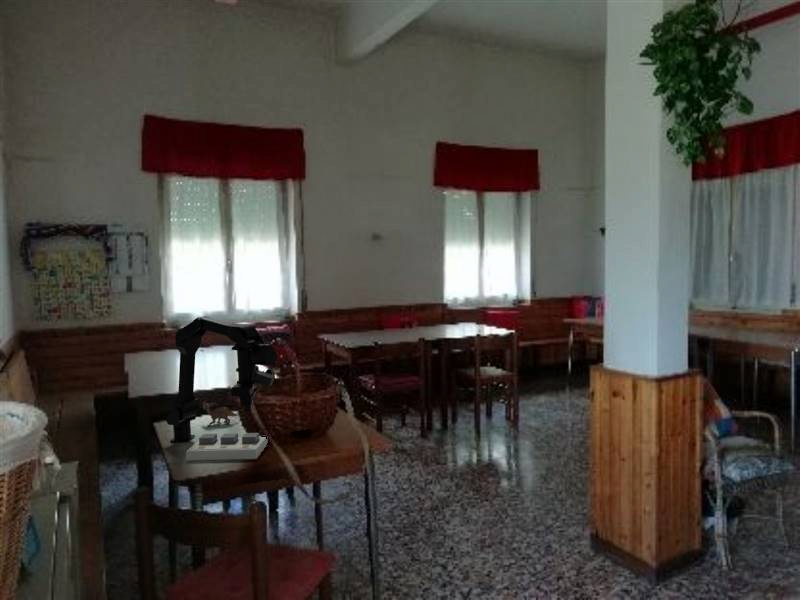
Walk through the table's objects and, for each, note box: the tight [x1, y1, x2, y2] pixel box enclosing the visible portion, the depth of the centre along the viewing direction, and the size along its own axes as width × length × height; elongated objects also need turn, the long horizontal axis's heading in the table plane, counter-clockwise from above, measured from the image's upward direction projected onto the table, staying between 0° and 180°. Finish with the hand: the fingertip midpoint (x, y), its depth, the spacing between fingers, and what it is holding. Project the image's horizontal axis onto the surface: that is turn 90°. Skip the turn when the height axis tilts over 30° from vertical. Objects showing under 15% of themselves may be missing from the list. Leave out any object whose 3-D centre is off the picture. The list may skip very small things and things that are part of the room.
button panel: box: [186, 435, 268, 461], centre depth 197 cm, size 14×22×3 cm, turn 88°
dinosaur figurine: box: [202, 399, 238, 427], centre depth 231 cm, size 14×6×9 cm, turn 94°
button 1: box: [198, 433, 218, 445], centre depth 198 cm, size 4×4×2 cm
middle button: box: [220, 432, 239, 444], centre depth 198 cm, size 4×4×2 cm
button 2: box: [241, 432, 260, 444], centre depth 198 cm, size 4×4×2 cm
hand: (249, 411), depth 197 cm, fingers closed
